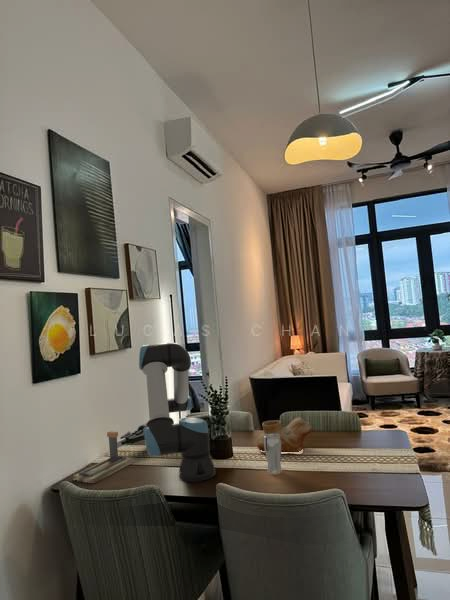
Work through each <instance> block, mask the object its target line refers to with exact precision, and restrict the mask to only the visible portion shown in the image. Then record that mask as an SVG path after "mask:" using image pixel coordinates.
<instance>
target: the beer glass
mask: <svg viewBox="0 0 450 600" xmlns="http://www.w3.org/2000/svg"><path fill="white" fill-rule="evenodd" d="M264 448H265V453H264V454H265V458H266V462H267V471H268V472H270V473H278V472H280V471H282V472H283V469H282V465H281V464H282V463H281V461H282V455H281V439H280V435H279V434H274V433H272V434H266V435H265V436H264Z"/></svg>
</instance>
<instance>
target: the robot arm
mask: <svg viewBox="0 0 450 600" xmlns="http://www.w3.org/2000/svg"><path fill="white" fill-rule="evenodd" d="M138 358H139V359H138V361H139V363H138V365H139V366H138V367H139V368H138V369H139V370H140V371H142V373H143V374H144V375H145V376H146V390H147V402H148V403H147V404H148V414H149V415H148V416H149V417H148V418H149V420H147V422H146V423H144V424H141V425H139V426H138V428H137V429H136V430H134V431H133V432H131V431H127V432H126V433H125V434H123V435H122V436H120V438H119V439H117V448H118V449H119V448H121V447H122V446H125V445H127V444H128V445H129V444H130V445H131V444H132V445H133V444H135V443H138V442H140V441H144V444H145V448H146V454H148V455H149V457H157V456H158V457H160V456H165V455H172V454H179V453H181V461H180V465H179V471H178V472H179V473H178V474H179V479H180V480H181V481H184V482H186V483H187V482H188V483H200V482H203V481H204V480H205V481H208V480H210V479H212V478H213V477H215V476H216V467H215V465H214V461H213V460H212V457H211V453H210V440H209V428H208V427H209V426H208V422H207V421H206V420H204V419H203V418H199V417H183V418H180V420H179V423H175V422H174V419H173V418H172V417H170V414H171V413H181V412H187V411H190V410H192V408H193V405H192V397H191V396H189V376H190V375H189V370H190V369H191V365H192V362H191V361H192V360H191V356H190V354H189V352H188V350H187V349H186V348H185V347H184V346H182V345H181V344H179V343H176V342H165V343H154V344H151V343H148V344H145V345H141V347H140V350H139V356H138ZM168 368H172V370H173V397H172V398H171V397H170V398H168V389H167V382H166V373H167V372H168ZM199 481H200V482H199Z"/></svg>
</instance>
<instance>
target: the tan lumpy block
mask: <svg viewBox="0 0 450 600" xmlns="http://www.w3.org/2000/svg"><path fill="white" fill-rule="evenodd" d="M261 424H262V430H263V432H262V433H260V435H259V436H258V438H257V441H256V444H257V445H256V447H257V449H258V451H260V450H262V451H265V448H264V436H265V435H266V434H272V433H274V434H279V435H280V439H281V452H299V451H301V450H302V449H304V441H305V437H306V436H308V435H309V434H310V433H311V431H312V424H311V422H308V421H305V420H304V419H303V418H302V417H300V416H298V417H296V418H294V419H293V420H292V421H290V423H289V424H287V425H286V426H283V425H282V421H281V420H276V419H275V420H267V421H263V422H262V423H261Z"/></svg>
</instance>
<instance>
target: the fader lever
mask: <svg viewBox="0 0 450 600" xmlns="http://www.w3.org/2000/svg"><path fill="white" fill-rule="evenodd" d="M106 434H107V435H106V436H107V438H108V442H109V444H108V445H109V461H111V462H116V461H118V460H120V458H118V456H119V454H118V453H119V452H118V450H119V448H117V441H118V437H119V432H118V431H114V430H113V431H108V432H106Z"/></svg>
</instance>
